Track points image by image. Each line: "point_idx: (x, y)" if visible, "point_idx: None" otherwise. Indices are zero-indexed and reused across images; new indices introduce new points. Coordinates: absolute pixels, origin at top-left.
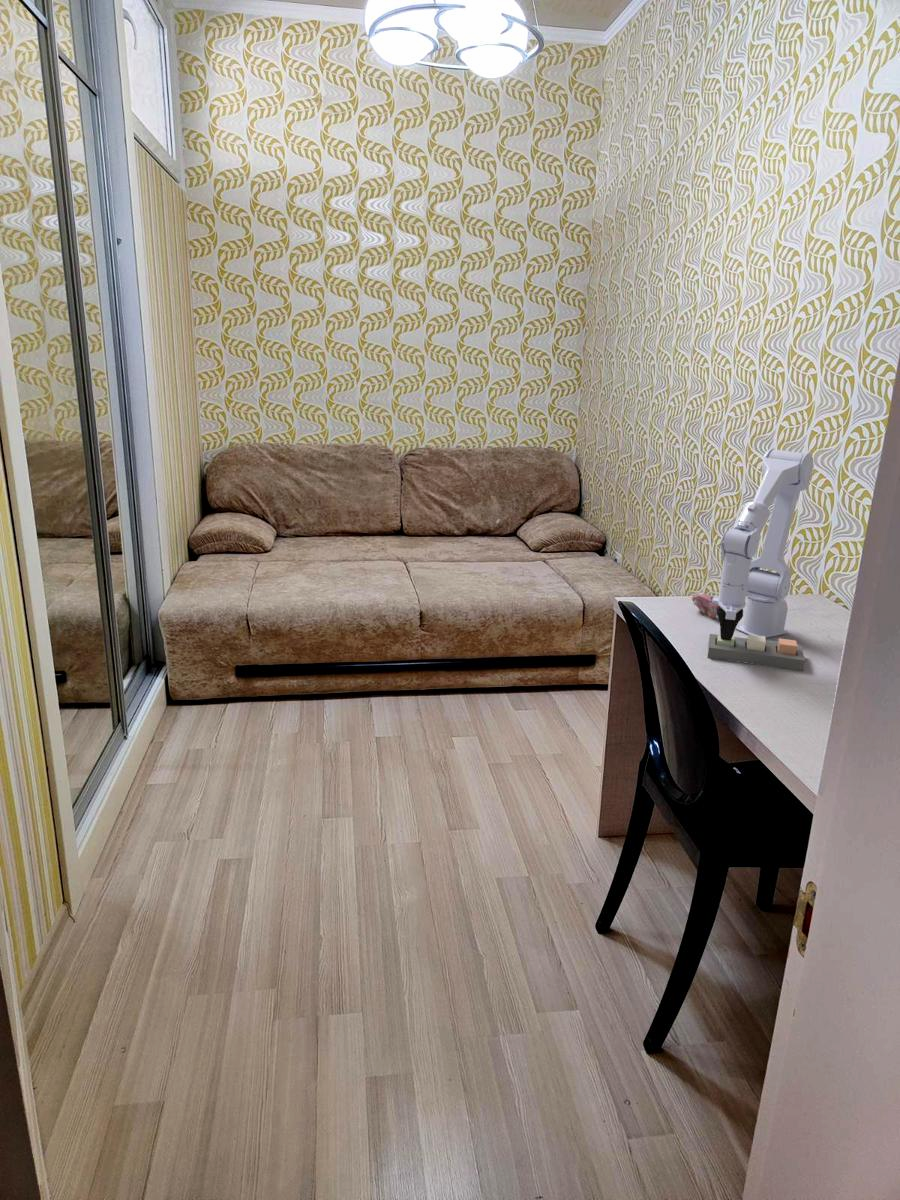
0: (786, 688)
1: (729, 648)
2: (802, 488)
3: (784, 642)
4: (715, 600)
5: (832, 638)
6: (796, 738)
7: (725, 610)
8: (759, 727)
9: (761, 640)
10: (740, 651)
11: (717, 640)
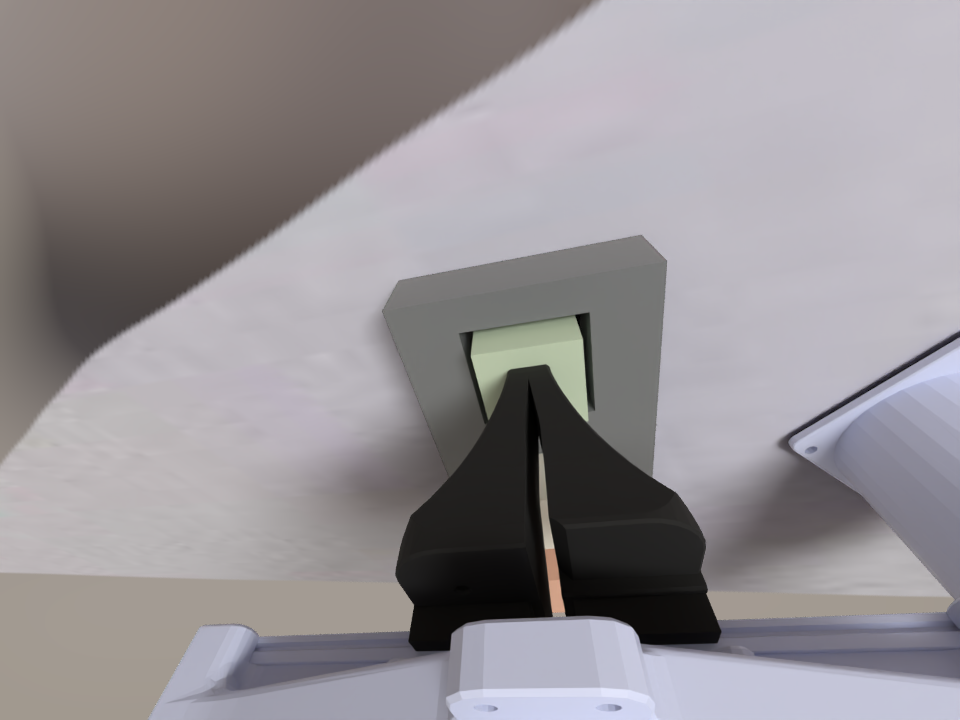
0: (322, 529)
1: (447, 404)
2: None
3: (557, 590)
4: (461, 714)
5: (848, 591)
6: (57, 554)
7: (217, 713)
8: (5, 502)
9: None
10: (441, 446)
11: (487, 350)
